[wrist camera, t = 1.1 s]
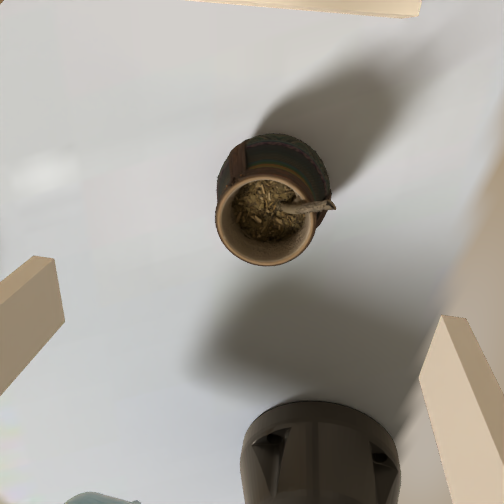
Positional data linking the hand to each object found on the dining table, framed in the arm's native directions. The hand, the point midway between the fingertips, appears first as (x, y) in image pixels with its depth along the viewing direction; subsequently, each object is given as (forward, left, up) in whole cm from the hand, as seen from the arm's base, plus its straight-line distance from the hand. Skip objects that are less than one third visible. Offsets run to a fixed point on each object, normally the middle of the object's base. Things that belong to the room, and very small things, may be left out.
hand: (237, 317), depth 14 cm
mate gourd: (0, 0, -17) cm, 17 cm away
